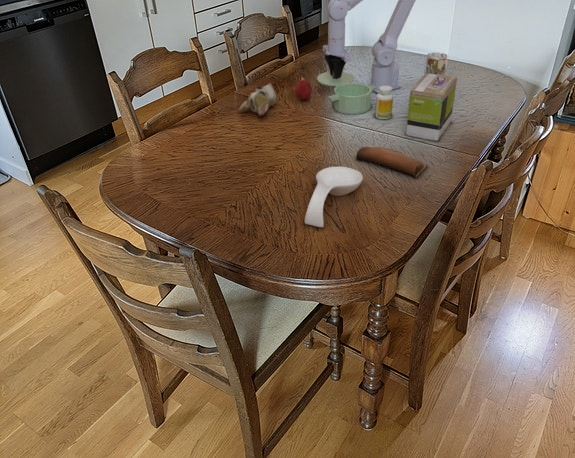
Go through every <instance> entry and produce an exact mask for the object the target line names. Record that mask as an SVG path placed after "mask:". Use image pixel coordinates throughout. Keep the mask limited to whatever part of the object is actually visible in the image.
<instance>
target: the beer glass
mask: <svg viewBox="0 0 575 458" xmlns="http://www.w3.org/2000/svg"><path fill="white" fill-rule="evenodd" d="M447 66H448V55H447V54H446V53H443V52H430V53H428V54H427V55H426V59H425V63H424V69H423V70H424V72H423V76H424V75H425V74H426V73H429V74H437V75H445V76H446V72H447Z"/></svg>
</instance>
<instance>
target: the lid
mask: <svg viewBox="0 0 575 458" xmlns="http://www.w3.org/2000/svg"><path fill="white" fill-rule="evenodd" d="M316 81H317V82H318V83H319V84H320V85H323V86H329V87H336V86H338V85H340V84H344V83H354V81H355V76H354V75H353V73H350V72H347V71H342V75H341V77H340V78H335V74H334V67H333V68H332V76H331V75H330V71H325V72H323V73H320V74H318V75H317V77H316Z"/></svg>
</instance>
